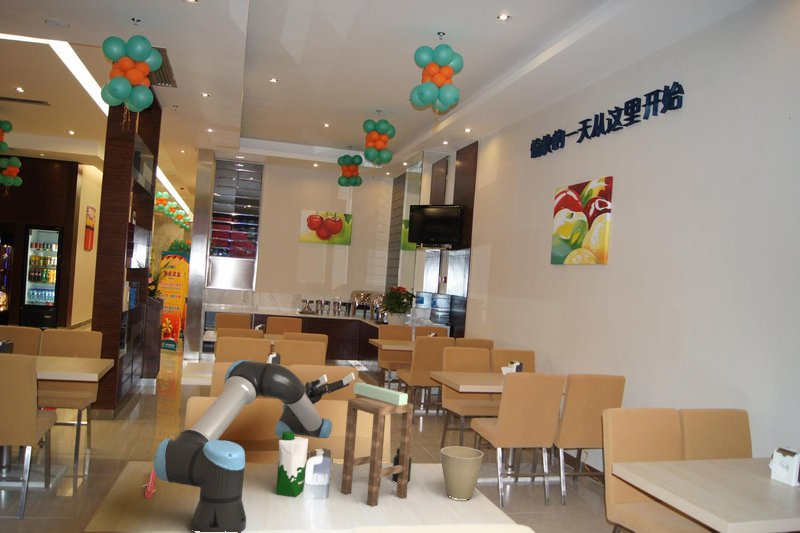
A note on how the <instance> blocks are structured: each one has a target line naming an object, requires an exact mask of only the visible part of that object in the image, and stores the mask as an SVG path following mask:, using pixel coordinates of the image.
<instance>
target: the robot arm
mask: <svg viewBox="0 0 800 533" xmlns="http://www.w3.org/2000/svg"><path fill="white" fill-rule="evenodd" d="M355 380H356V378H355V374H354V372H350V373H349V374H347V375H346V376H343V377H342V378H341V379H339V380H337V381H334V382H332V383H331V382H330V383H328V378H327V375H326V374H323V375H321V376H319V377H318V378H316V379H315V380H314V381H312V380H311V382H309V381H307V382H305V384H304V383H303V381H302V380H301V379H300V378H299V377H298V376H297V375H296V374H295V373H294V372H293V371H291V370H290V369H289V368H287V367H285V366H283V365H281V364H279V363H270V362H262V361H255V360H248V359H245V360H242V359H241V360H240V359H239V360H237V361H234V362H233V363H232V364H231V365H230V366H229V367H228V368H227V371H226V373H225V376H224V390H223V391H222V392H221V393H220V395H219V396H218V397H217V398H216V399H215V400H214V401H213V403H212V404H211V405H210V406H209V407H208V409H207V410H205V412H204V413H203V414H202V415H201V417H200V418H198V420H197V421H196V422H195V424H193V426H192V427H191V428H189V429H188V428H187V429H185V430H184V429H183V431H181V432H180V433H179V435H177V437H176V438H174V439H173V438H165V439H163V440H162V441H160V443H159V445H158V446H157V449H156V451H155V454H154V460H153V470H155V474H156V475H155V477H157V478H158V479H160V480H161V481H165V482H168V483H170V484H171V483H172V484H178V485H179V484H180V485H186V486H190V487H196V488H200V490H199V492H200V493H199V499H198V503H197V505H196V507H195V510H194V513H193V515H192V517H191V522H190V530H191V531H192V530H193V531H200V532H225V531H226V532H240V531H242V532H243V531H244V530H245V529H246V527H247V516H246V511H245V507H244V503H243V487H244V476H245V467H246V453H245V452H246V451H245V450H244V448H243V446H241V445H240V444H238V443H236V442H233V441H229V440H220V438H221V436H222V435H223V433H224V432H226V430H227V429H228V427H229V426H230V425H231V424H232V422H233V421H234V420H235V418H236V417H237V416H238V414H239V413H240V412H241V410H243V408H244V407H245V406H246V405H251V404H252V403H253V402H254V401H255V400H256V399H257V398H258V397H261V398H264V397H265V398H273V399H277V400H280V402H281V403H283V404H282V413H281V415H280V417H279V419H278V421H277V422H276V426H274V434H275V435H276V436H277V437H278V438H279V439H281V438H282V434H283V432H285V431H291V432H294V436H295V435H297V436H301V437H302V436H305V437H309V438H311V437H312V438H317V439H324V440H325V439H328V438H330V436H331V434H332V431H333V430H332V429H333V422H332V420H331V419H328V418H322V416H321V414H320V413H319V411H318V410H317V408H316V407H315V404H317V403H318V402H319V401H321V399H322V397H323V395H325V394H332V393H335V392H337V391H338V390H341V389H343V388H345V387H348V386H350V383H351V382H353V381H355ZM240 533H241V532H240Z"/></svg>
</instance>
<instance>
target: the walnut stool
mask: <svg viewBox="0 0 800 533" xmlns="http://www.w3.org/2000/svg"><path fill="white" fill-rule="evenodd" d="M358 411H361V412H364V413H368V414H370V415H373V416H372V417H373V420H372V428H371V429H372V431H371V444H370V455H368V456H362V457H357V458H355V448H356V435H357V424H358V423H357V422H358ZM413 411H414V404H413V403H410V402H407V404H404V405H396V404H393V403H389V402H385V401H382V400H378V399H374V398H371V397H367V396H366V397H359V398H348V400H347V409H346V412H347V413H346V426H345V434H344V435H345V437H344V440H345V441H344V447H343V448H344V451H343V463H342V464H343V466H342V477H341V479H342V480H341V491H340V493H341V494H343V495H350V494H352V490H353V478H354V477H353V476H354V467H357V466H362V465H367V464H369V470H368V482H367V483H368V485H367V499H366V505H367V506H369V507H371V508H372V507H375V506H378V504H379V491H380V490H379V488H380V487H381V482H382V477H386V476H391V475H392V474H396V473H398V481H397V483H396V496H397V497H396V498H398V497H399V498H398V499H400V498H401V500H403V499H406V498H405V497H407V496H408V495H407V494H408V484H409V483H408V471H409V457H411V454H410V453H411V439H412V427H413V426H412V424H413V414H414V413H413ZM395 414H402V416H401V426H400V428H401V429H400V439H399V441H400V442H399V447H400V453H399V465H397V466H393V465H392V466H388V467H384V468H382V466H383V454H384V453H383V452H384V439H385V425H386V416H389V415H395ZM379 486H380V487H379ZM402 498H403V499H402Z"/></svg>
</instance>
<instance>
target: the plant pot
mask: <svg viewBox="0 0 800 533" xmlns="http://www.w3.org/2000/svg"><path fill="white" fill-rule="evenodd" d="M483 457H484V452H482V451H481V450H479V449H476V448H473V447H468V446H445V447H443V448H441V449H440V459H441V468H442V473H443V479H444V483H445V487H446V491H447V494H448V497H449V496H451V497H453V498H457V499H468V498H470V499H471V497H472V495H473V493H474V490H475V487H476V485H477V481H478V479H479V474H480V472H481V467H482V462H483Z"/></svg>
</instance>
